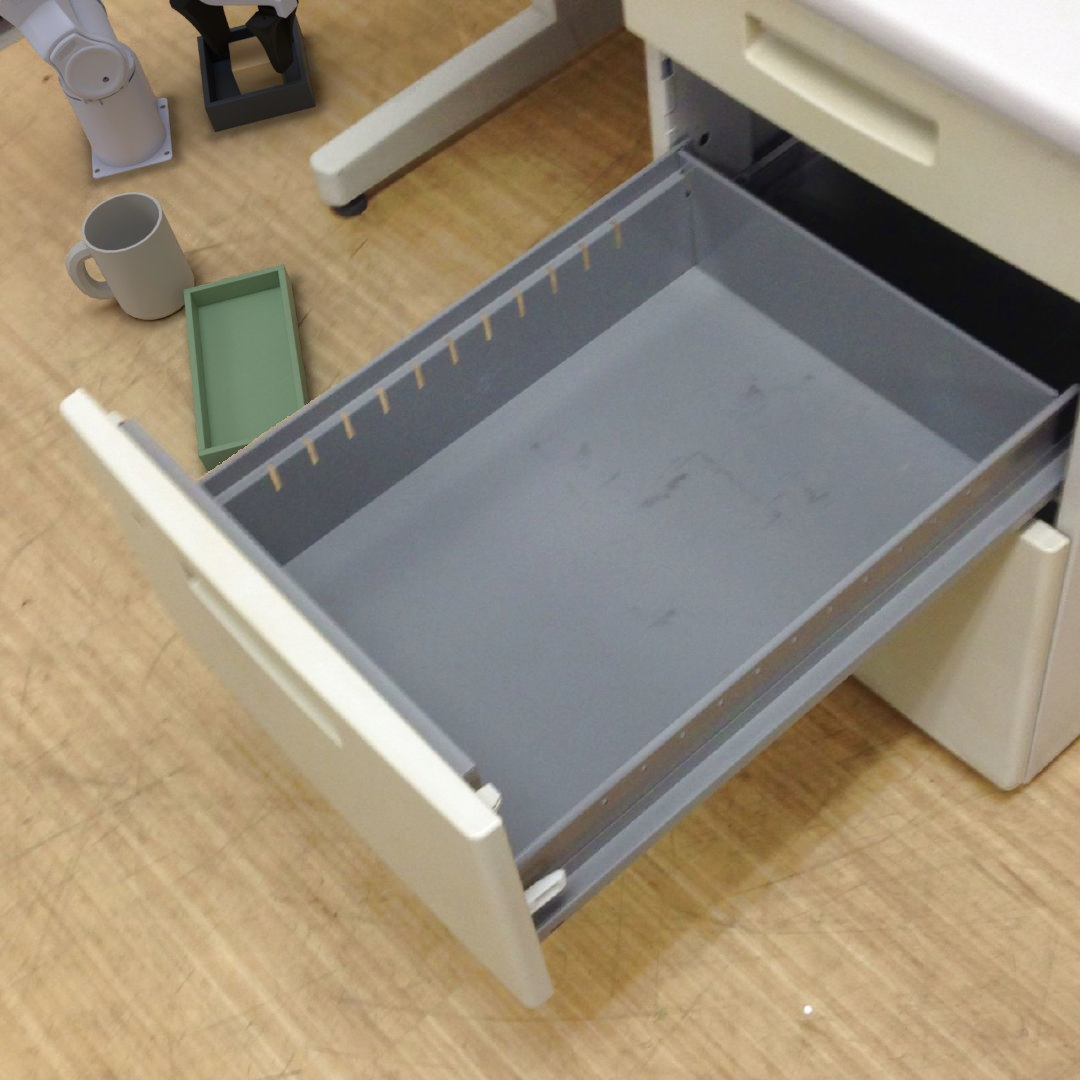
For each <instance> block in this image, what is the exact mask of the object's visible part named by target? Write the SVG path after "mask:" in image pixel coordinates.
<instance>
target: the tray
mask: <svg viewBox="0 0 1080 1080" xmlns="http://www.w3.org/2000/svg"><path fill="white" fill-rule="evenodd" d="M294 297H295V296H294V290H293V284H292V281H291V278H290V276H289V274H288V271H287V268H286V266H285V264H283V263H282V264H279V265H274V266H271V267H266V268H263V269H259V270H256V271H251V272H247V273H243V274H238V275H235V276H232V277H227V278H223V279H219V280H216V281H212V282H208V283H204V284H199V285H195V286H194V287H192V288H188V289H184V301H185V304H184V310H185V312H184V313H185V321H186V322H185V323H186V333H187V341H188V342H187V344H188V355H189V365H190V375H191V387H192V398H193V408H194V419H195V430H196V442H197V451H198V457H199V459H200V461H201V463H202V465H203V466H204V468H205V470H206V472H207V473H208V471H210V470H212V469H214V468H215V467H216V466H217V465H220V464H222V462H223V461H225V460H227V459H228V458H229V457H231V456H232V455H233V454H236V453H237V452H238V450H240V449H243V448H244V447H245V446H247V445H248V444H249V443H251V442H252V441H253V440H254V439H255V438H258V437H259V436H260V435H261V434H262V433H264V432H266V431H268V430H269V429H270V428H271V427H274V426H276V424H277V423H279V422H281V421H282V420H284V419H285V418H287V416H291V415H292V414H293V413H295V412H296V411H297V410H299V409H301V408H302V407H303V406H304V405H306V404H308V403H309V404H310V398H309V392H308V385H307V377H306V371H305V365H304V358H303V351H302V346H301V345H302V343H301V337H300V331H299V325H298V324H299V323H298V318H297V317H298V316H297V310H296V305H295V304H296V303H295V298H294ZM219 462H220V463H219Z"/></svg>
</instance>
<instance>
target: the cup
mask: <svg viewBox="0 0 1080 1080" xmlns="http://www.w3.org/2000/svg"><path fill="white" fill-rule="evenodd" d="M80 235H81V238H82V240H79V241H78V242H76V243H75V244H73V245H72V247H71V248H70V250H69V251H68V253H67V255H66V258H65V268H66V272H67V274H68V277H69V278H70V280H71V281H72V283H73V284H74V285H75V286H76V287H77V288H78V290H79V291H80V292H81V293H83V294H84V295H86V296H88V297H89V298H91V299H94V300H98V301H103V300H111V299H115V300H116V301H117V303H118V304H119V306H120V307H121V309H122V310H123V311H124V313H126V314H127V315H129V316H131V317H133V318H135V319H139V320H144V321H153V320H159V319H164V318H165V317H168V316H171V315H173V314H175V313H176V312H177V311H179V310H181V309H182V308H183V307H184V306H185V301H184V289H188V288H192V287H195V275H194V273H193V271H192V268H191V265H190V264H189V261H188V259H187V257H186V255H185V253H184V251H183V249H182V246H181V245H180V243H179V240H178V239H177V236H176V234H175V233H174V231H173V228H172V226H171V224H170V222H169V220H168V218H167V216H166V214H165V212H164V210H163V208H162V206H161V204H160V202H159V201H158V200H157V199H156V198H155V197H154V196H152V195H149V194H148V193H144V192H139V191H127V192H122V193H117V194H115V195H113V196H110V197H107V198H106V199H104V200H103V201H101V202H98V203H97V204H96V205H95V206H94V207H93V208H92V209H91V210H90V211H89V212H88V214H87V215H86V216H85V218H84V219H83V222H82V225H81V233H80ZM89 259H93V261H95V264H96V266H97V268H98V269H99V271H100V273H101V276H103V278H104V280H105V281H104V280H103V281H102V280H101V281H99V280H97V279H95V278H93V277H92V276H91V275H90V274H89V271H88V270H87V267H86V264H85V263H86V261H87V260H89Z"/></svg>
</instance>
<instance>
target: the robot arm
mask: <svg viewBox="0 0 1080 1080" xmlns="http://www.w3.org/2000/svg"><path fill="white" fill-rule="evenodd" d="M168 2H169V5H170V8H172V9H173V10H174V11H176V13H179V14H180V16H182V17H183V18H184V19H185V20H187V21H188V23H190V24H191V25H192V27H193V28H194V29H195V30H196V31H197V32H198V33H199V35H200V36H202V37H203V38H204V40H205V41H206V42H207V44H208V45H209V46H210V48H211V49H212V50H213V51H214V53H215V54H216V55H220V56H221V55H222V54H223V53H224V52H225V51H226V50H227V49H228V48H229V43H232V35H231V31H230V28H231V27H230V25H229V22H228V19H227V16H226V12H225V8H224V6H225V7H226V6H227V7H229V6H257V10H256V11H255V12H254V13H253V14H252V15H251V16H250V18H249V19H248V20H247V21H246V22H245V24H244V25H246V27H247V28H248V29H249V30H250V31H251V32H252V33H253V34H254V35H255V36H256V37H257V38H258V40H259V41H260V43H261V44H262V46H263V47H264V49H265V51H266V53H267V56H268V58H269V60H270V63H271V65H272V66H273V68H274V70H275V71H276V72H277V73H280V74H283V73H284V72H285V71H286V70H287V69H288V68H289V67H290V65H291V64H292V63H293V62H294V60H293V39H292V38H293V24H294V19H295V14H296V15H297V9H298V6H299V3H300V1H299V0H169V1H168ZM0 16H1V18H3V19H4V20H6V21H7V22H8V23H10V24H11V25H12V26H14V27H16V28H17V30H19V31H20V33H21V34H22V36H23V37H24V38H25V40H26V41H27V42H28V44H30V46H31V47H32V48H33V50H34V51H35V52H36V53H37V54H38V56H39V58H41V60H43V61H44V62H45V63H47V64H48V65H49V66H50V67H52V69H54V70H55V72H56V73H57V75H58V77H57V78H58V82H59V85H60V87H61V89H62V91H63V93H64V95H65V97H66V99H67V101H68V103H69V105H70V107H71V109H72V111H73V113H74V115H75V117H76V118H77V119H76V120H77V121H78V122H79V124H80V127H81V129H82V130H83V133H84V134H85V136H86V138H87V140H88V142H89V144H90V146H91V147H90V148H91V167H92V169H91V170H92V177H93V179H95V180H98V179H102V178H106V177H111V176H114V175H118V174H122V173H126V172H130V171H134V170H138V169H142V168H146V167H149V166H153V165H157V164H161V163H165V162H169V161H171V160H172V159H173V157H174V154H173V145H172V143H173V142H172V133H171V123H170V113H169V102H168V101H169V100H168V98H166V97H159V98H157V97H156V94H155V93H154V90H153V88H152V86H151V84H150V82H149V79H148V77H147V75H146V73H145V70H144V68H143V66H142V64H141V62H140V60H139V56H137V55H138V54H136V52H135V51H134V50H133V49H132V48H131V46H128V45H127V44H126V43H124V42H122V41H121V40H120V41H119V39H118V37H117V35H116V32H115V30H114V29H113V25H112V24H111V22H110V19H109V16H108V12H107V8H106V5H105V4H104V2H103V1H102V0H0ZM163 107H164V108H163ZM167 153H168V154H167Z"/></svg>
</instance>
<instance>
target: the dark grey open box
mask: <svg viewBox="0 0 1080 1080" xmlns="http://www.w3.org/2000/svg"><path fill="white" fill-rule="evenodd" d="M229 28H230V31H231V35H232V42H236V41H240V40H244V39H247V38H251V37H255V35H254V34H253V33H252V32H251V31H250V30H249V29H248V28H247V27H246V25H245V24H242V25H237V26H234V27H229ZM292 39H293V60H294V62H293V63H292V64H291V65H290V67H289V68H288V69H287V70H286V71H285V74H286V80H287V83H286V84H282V85H278V86H274V87H270V88H266V89H263V90H259V91H255V92H251V93H247V94H243V95H241V93H240V90H239V88H238V85H237V82H236V80H235V77H234V75H233V72H232V66H231V59H230V51H229V48H228V49H227V50H226V51H225V52H224V53H223V54H222V55H221V56H220V55H216V54H215V53H214V51H213V50H212V49H211V48H210V46H209V45H208V44H207V42H206V41H205V40H204V38H203V37H202V36H201V35H198V36H196V41H197V42H196V43H197V50H198V59H199V60H198V61H199V69H200V77H201V85H202V94H203V104H204V109H205V112H206V114H207V117H208V119H209V121H210V123H211V126H212V130H213V131H214V133H217V132H222V131H225V130H230V129H233V128H237V127H242V126H245V125H249V124H252V123H257V122H261V121H265V120H269V119H273V118H277V117H280V116H284V115H288V114H289V115H290V114H291V113H296V112H299V111H303V110H308V109H311V108H316V101H315V94H314V89H313V84H312V78H311V71H310V67H309V66H310V65H309V61H308V56H307V51H306V43H305V39H304V35H303V31H302V29H301V26H300V23H299V20H298V16H297V13H296V14H295V19H294V24H293V38H292Z"/></svg>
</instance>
